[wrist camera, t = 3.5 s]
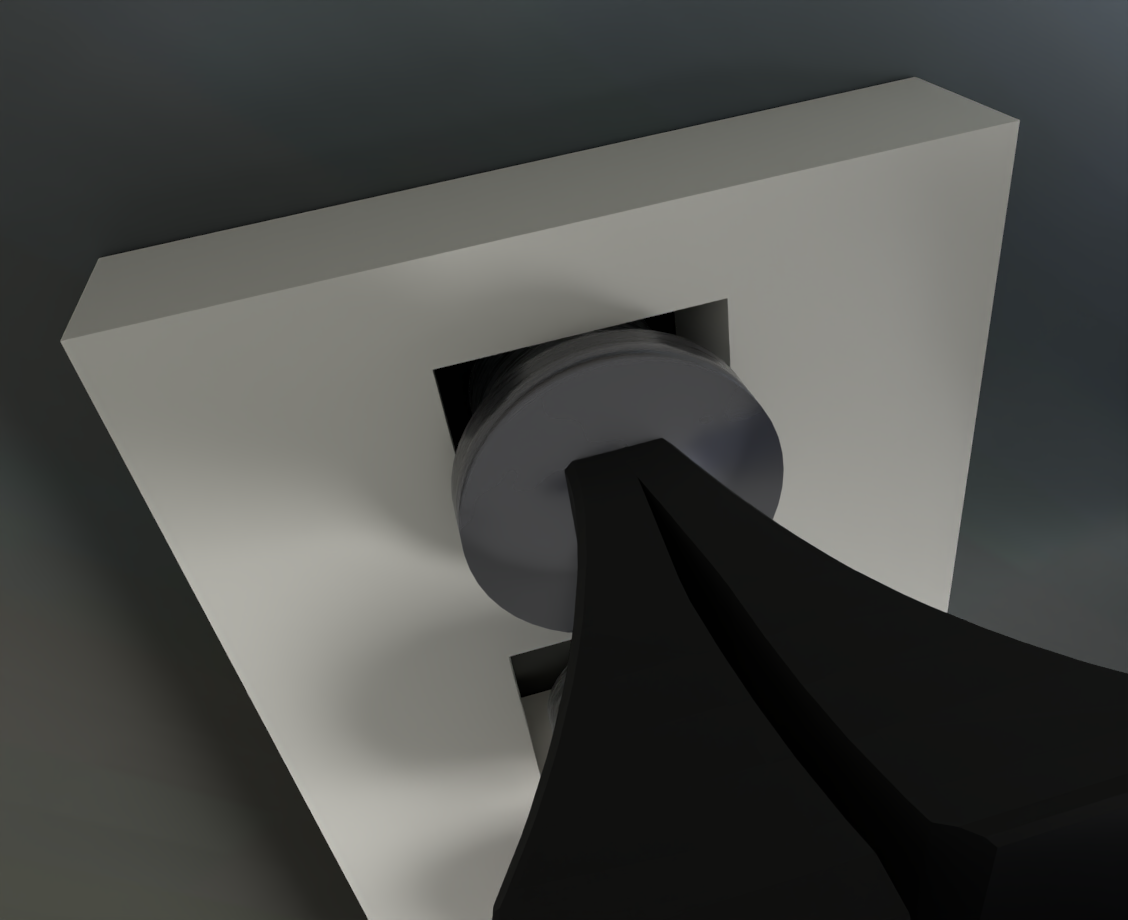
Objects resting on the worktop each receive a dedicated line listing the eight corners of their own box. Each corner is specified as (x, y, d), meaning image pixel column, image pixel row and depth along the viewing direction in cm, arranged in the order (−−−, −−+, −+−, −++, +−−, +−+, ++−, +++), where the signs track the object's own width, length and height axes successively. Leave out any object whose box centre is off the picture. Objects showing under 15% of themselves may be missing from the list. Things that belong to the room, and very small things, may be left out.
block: (915, 76, 14) (1020, 119, 12) (858, 785, 24) (909, 871, 22) (98, 257, 13) (60, 340, 11) (413, 921, 23) (424, 1025, 21)
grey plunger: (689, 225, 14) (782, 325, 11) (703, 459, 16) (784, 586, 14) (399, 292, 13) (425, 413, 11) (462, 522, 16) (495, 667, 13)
